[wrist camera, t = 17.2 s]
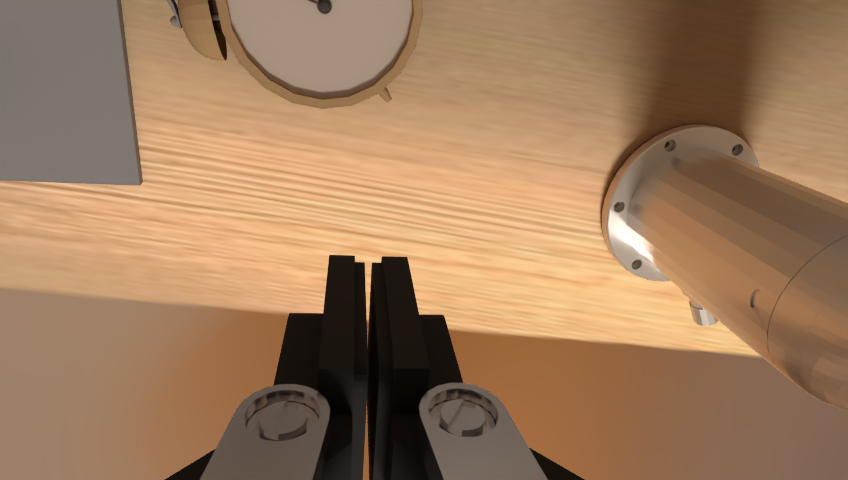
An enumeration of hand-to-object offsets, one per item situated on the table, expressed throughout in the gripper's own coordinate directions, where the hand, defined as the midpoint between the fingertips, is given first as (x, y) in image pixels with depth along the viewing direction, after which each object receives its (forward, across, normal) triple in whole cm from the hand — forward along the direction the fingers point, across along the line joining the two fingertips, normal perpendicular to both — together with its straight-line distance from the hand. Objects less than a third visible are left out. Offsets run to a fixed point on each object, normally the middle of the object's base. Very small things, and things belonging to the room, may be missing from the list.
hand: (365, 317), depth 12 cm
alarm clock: (+26, +4, -7) cm, 27 cm away
